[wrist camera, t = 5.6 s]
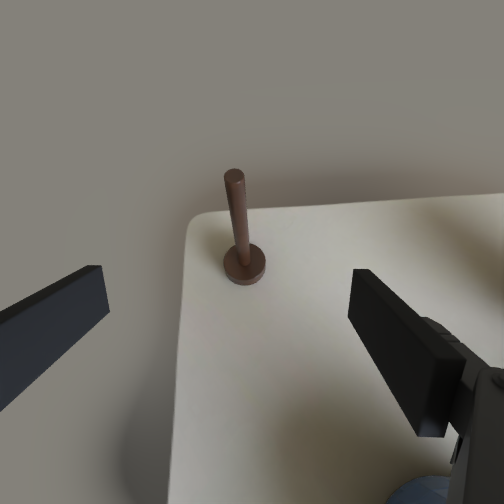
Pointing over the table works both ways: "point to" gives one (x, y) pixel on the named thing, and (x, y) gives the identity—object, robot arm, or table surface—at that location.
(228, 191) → the paper towel holder
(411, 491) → the bowl
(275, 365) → the table surface
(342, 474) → the table surface
